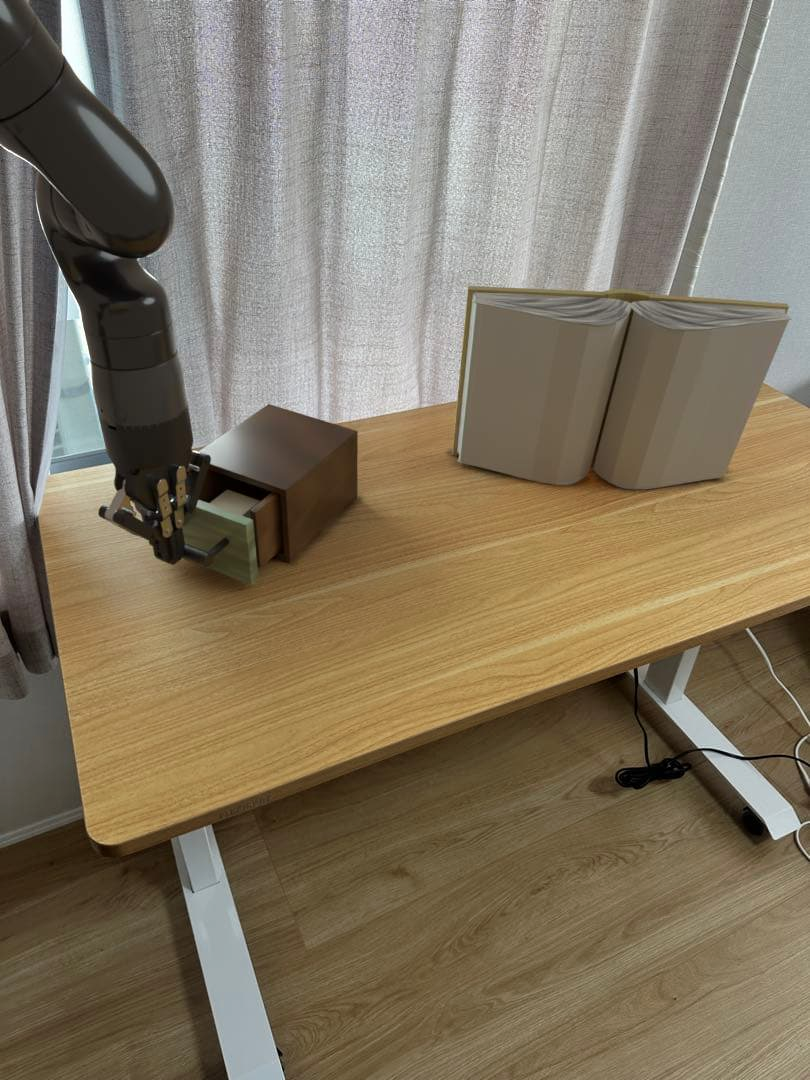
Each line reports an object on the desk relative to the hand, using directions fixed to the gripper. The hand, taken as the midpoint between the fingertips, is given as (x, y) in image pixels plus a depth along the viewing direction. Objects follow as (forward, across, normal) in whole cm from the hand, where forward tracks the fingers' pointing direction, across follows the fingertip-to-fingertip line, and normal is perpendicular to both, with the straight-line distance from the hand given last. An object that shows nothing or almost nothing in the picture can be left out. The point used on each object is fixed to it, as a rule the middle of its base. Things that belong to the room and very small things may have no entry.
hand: (171, 558), depth 80 cm
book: (+6, -47, +29) cm, 56 cm away
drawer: (+5, -10, 0) cm, 11 cm away
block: (+4, -10, 0) cm, 11 cm away
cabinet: (+6, -18, 0) cm, 19 cm away
